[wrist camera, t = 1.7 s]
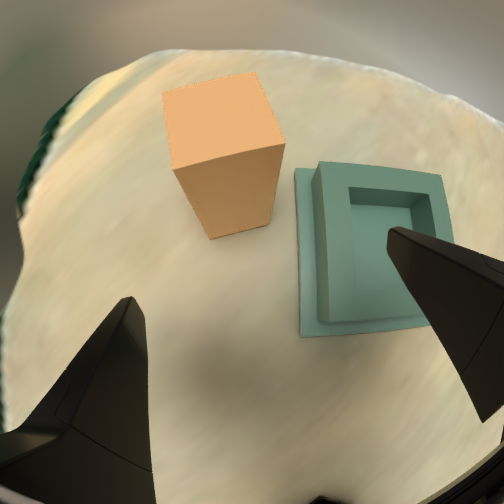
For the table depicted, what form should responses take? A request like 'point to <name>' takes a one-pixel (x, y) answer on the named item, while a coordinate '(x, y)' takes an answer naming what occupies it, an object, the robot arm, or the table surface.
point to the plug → (225, 151)
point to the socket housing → (360, 245)
